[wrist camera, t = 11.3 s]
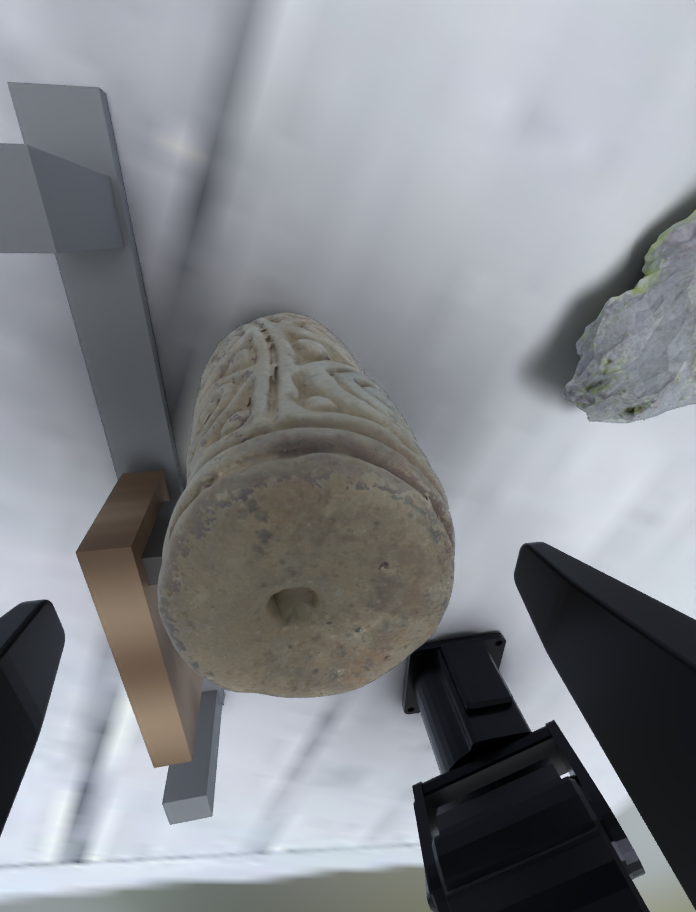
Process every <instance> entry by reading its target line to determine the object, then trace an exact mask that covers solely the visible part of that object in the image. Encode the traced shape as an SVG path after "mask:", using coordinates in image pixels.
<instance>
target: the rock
mask: <svg viewBox="0 0 696 912" xmlns="http://www.w3.org/2000/svg"><path fill="white" fill-rule="evenodd" d="M644 259H645V265H644V267H643V269H642V272H643V273H644V274H645V276H644V277H643V279H640V280H639V282H638V283H637V285H636V286H635V287H634V289H633V290H628V291H626V292H625V293H623V294H622V295H620V296H616V297H611V298H610V299H609V300H608V301H607V302H606V303H605V305H604V307H603V308H602V310H601V312H600V314H599V315H598V317H597V319H596V320H595V321H593V322H592V323H591V324H589V325H588V326H586V327H585V331H584V334H583V335H582V336H581V337H580V339H579V340H578V341H577V342H576V349H577V354H578V355H579V357H580V358H581V360H580V361H579V362H578V365H577V368H576V371H575V374H574V376H573V378H572V380H571V381H570V382H569V383H567V384H566V386H565V389H564V393H563V395H564V396H565V397H566V398H567V399H568V400H569V401H572V402H576V405H577V407H578V408H580V409H581V410H583V411H584V412H586V413H587V416H588V420H589V421H598V422H610V423H630V422H634V421H638V420H645V419H648V418H651V417H654V416H657V415H660V414H662V413H664V412H666V411H668V410H672V409H676V408H679V407H683V406H686V405H691V404H696V209H695V211H694V212H693V213H692V214H691V215H690V216H689V217H688V218H686V219H684V220H682V221H679V222H677V223H675V224H673V225H672V226H671V227H669V228H668V229H667V230H665V231H664V232H663V233H662V234H660V235H659V237H658V239H657V241H656V242H655V243H654V244H652V245H651V247H650V249H649V251H648V252H647V254H646V255H645V257H644Z"/></svg>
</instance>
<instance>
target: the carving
mask: <svg viewBox="0 0 696 912" xmlns="http://www.w3.org/2000/svg"><path fill="white" fill-rule="evenodd" d="M186 466H187V485H186V488H185V490H184V491H183V493H182V494H181V496H180V498H179V500H178V502H177V504H176V506H175V508H174V510H173V513H172V516H171V519H170V522H169V526H168V529H167V533H166V536H165V540H164V545H163V553H162V565H161V569H160V573H159V579H158V587H157V596H158V608H159V614H160V617H161V620H162V623H163V625H164V627H165V629H166V631H167V633H168V635H169V637H170V639H171V641H172V644H173V645H174V647H175V649H176V650H177V652H178V653H179V655H180V656H181V657H182V659H183V660H184V661H185V662H186V664H187V665H188V666H189V667H190V668H191V669H193V670H194V671H195V672H196V673H198V674H199V675H200V676H202V677H203V678H205V679H206V680H208V681H209V682H211V683H213V684H214V685H216V686H218V687H221V688H223V689H226V690H229V691H234V692H246V693H259V694H265V695H271V696H275V697H285V698H309V697H322V696H329V695H336V694H340V693H345V692H348V691H352V690H355V689H357V688H360V687H362V686H364V685H366V684H368V683H370V682H372V681H374V680H376V679H377V678H379V677H380V676H382V675H383V674H385V673H387V672H388V671H390V670H391V669H393V668H394V667H395V666H397V665H398V664H400V663H401V662H402V661H403V660H404V659H406V658H407V657H408V656H409V655H410V654H411V653H413V652H414V651H415V650H416V649H418V648H419V647H420V646H421V645H423V644H424V643H425V642H426V641H427V640H428V639H429V638H430V637H431V636H432V634H433V633H434V632H435V630H436V628H437V626H438V625H439V623H440V621H441V619H442V617H443V615H444V612H445V610H446V608H447V606H448V603H449V600H450V597H451V592H452V587H453V580H454V555H455V536H454V527H453V522H452V519H451V515H450V512H449V507H448V501H447V498H446V495H445V492H444V490H443V487H442V485H441V483H440V481H439V479H438V477H437V476H436V474H435V472H434V471H433V469H432V468H431V466H430V464H429V462H428V460H427V458H426V456H425V455H424V453H423V452H422V450H421V449H420V448H419V446H418V445H417V443H416V439H415V437H414V436H413V433H412V431H411V429H410V428H409V426H408V425H407V423H406V422H405V420H404V418H403V417H402V415H401V414H400V412H399V411H398V409H397V408H396V406H395V405H394V404H393V402H392V401H391V400H390V399H389V397H388V396H387V395H386V394H385V393H384V391H383V390H382V389H381V388H380V387H379V386H378V385H377V384H375V383H374V382H373V381H372V380H371V379H370V378H369V377H368V376H367V375H366V374H364V373H363V372H362V370H361V368H360V367H359V365H358V364H357V362H356V361H355V360H354V358H353V356H352V355H351V353H350V352H349V351H348V349H347V348H346V347H345V346H344V344H343V343H342V342H341V341H340V340H339V339H338V338H337V337H336V336H334V335H333V334H332V333H331V332H330V331H329V330H328V329H327V328H325V327H324V326H323V325H322V324H320V323H318V322H316V321H314V320H313V319H311V318H309V317H307V316H302V315H298V314H294V313H287V312H283V313H277V314H274V315H268V316H265V317H261V318H257V319H255V320H253V321H252V322H251V323H248V324H243V325H241V326H239V327H238V328H236V329H235V330H233V331H232V332H231V333H229V334H228V335H227V336H226V337H225V338H224V339H223V340H222V341H221V342H220V343H219V344H218V345H217V347H216V349H215V350H214V352H213V354H212V356H211V358H210V359H209V361H208V363H207V366H206V368H205V370H204V372H203V375H202V378H201V386H200V390H199V393H198V395H197V399H196V404H195V408H194V414H193V425H192V431H191V439H190V445H189V448H188V452H187V457H186Z"/></svg>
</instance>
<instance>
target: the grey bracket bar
mask: <svg viewBox="0 0 696 912" xmlns="http://www.w3.org/2000/svg"><path fill="white" fill-rule="evenodd" d="M7 83H8V86H9V90H10V93H11V97H12V101H13V104H14V108H15V111H16V115H17V119H18V122H19V126H20V129H21V133H22V137H23V140H24V144H2V143H0V253H55V255H56V259H57V262H58V266H59V270H60V273H61V277H62V280H63V284H64V288H65V291H66V295H67V298H68V302H69V306H70V309H71V313H72V316H73V320H74V324H75V327H76V331H77V334H78V338H79V342H80V345H81V349H82V352H83V356H84V360H85V363H86V367H87V370H88V374H89V378H90V381H91V385H92V388H93V392H94V396H95V399H96V403H97V406H98V410H99V414H100V417H101V421H102V424H103V428H104V432H105V435H106V439H107V442H108V446H109V450H110V453H111V457H112V460H113V464H114V468H115V471H116V475H117V478H118V480H119V478H120V477H121V475H122V473H134V472H148V471H161V470H164V475H165V479H166V484H167V489H168V493H169V498H170V501H175V500H179V498H180V496H181V494H182V493H183V491H184V488H183V483H182V477H181V472H180V467H179V462H178V457H177V452H176V447H175V442H174V437H173V432H172V427H171V422H170V417H169V412H168V407H167V402H166V397H165V392H164V387H163V382H162V377H161V372H160V367H159V361H158V356H157V351H156V346H155V341H154V336H153V331H152V326H151V321H150V316H149V311H148V306H147V301H146V296H145V291H144V286H143V281H142V276H141V271H140V266H139V261H138V256H137V251H136V245H135V240H134V235H133V230H132V225H131V220H130V215H129V210H128V205H127V200H126V195H125V190H124V185H123V180H122V175H121V170H120V165H119V160H118V155H117V150H116V145H115V140H114V134H113V129H112V124H111V119H110V114H109V109H108V104H107V99H106V94H105V93H104V92H103V91H102V90H101V89H100V88H99V87H82V86H66V85H49V84H32V83H15V82H7ZM224 698H225V694H224V689H223V688H221V687H218V686H216V685H214V684H213V683H211V682H209V681H208V680H206V679H205V678H203V684H202V692H201V699H200V707H199V714H198V721H197V729H196V736H195V744H194V751H193V758H192V761H190V762H185V763H179V764H173V765H169V768H168V774H167V780H166V785H165V791H164V796H163V802H162V805H163V807H164V810H165V813H166V815H167V818H168V821H169V823H170V825H172V824H177V823H182V822H187V821H192V820H197V819H202V818H207V817H212V814H213V803H214V791H215V780H216V769H217V757H218V746H219V734H220V723H221V711H222V705H224Z"/></svg>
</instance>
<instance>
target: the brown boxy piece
mask: <svg viewBox="0 0 696 912" xmlns="http://www.w3.org/2000/svg"><path fill="white" fill-rule="evenodd" d="M177 502H178V500H175V501H170V498H169V493H168V489H167V484H166V479H165V475H164V470H161V471H148V472H134V473H122V475H121V477H120V478H119V480H118V482H117V484H116V485H115V487H114V489H113V490H112V492H111V494H110V495H109V497H108V499H107V500H106V502H105V504H104V505H103V507H102V509H101V510H100V512H99V514H98V516H97V517H96V519H95V521H94V522H93V524H92V526H91V527H90V529H89V531H88V532H87V534H86V536H85V537H84V539H83V541H82V543H81V544H80V546H79V548H78V549H77V551H76V555H77V558H78V560H79V563H80V566H81V569H82V571H83V574H84V577H85V580H86V582H87V585H88V588H89V591H90V593H91V596H92V599H93V602H94V604H95V607H96V610H97V613H98V615H99V618H100V621H101V624H102V626H103V629H104V632H105V635H106V637H107V640H108V643H109V646H110V648H111V651H112V654H113V657H114V659H115V662H116V665H117V668H118V670H119V673H120V676H121V679H122V681H123V684H124V687H125V690H126V692H127V695H128V698H129V701H130V703H131V706H132V709H133V712H134V714H135V717H136V720H137V723H138V725H139V728H140V731H141V734H142V736H143V739H144V742H145V745H146V747H147V750H148V753H149V756H150V758H151V761H152V764H153V767H154V768H157V767H162V766H168V765H173V764H179V763H185V762H190V761H192V758H193V751H194V744H195V736H196V729H197V721H198V714H199V707H200V699H201V692H202V684H203V677H202V676H200V675H199V674H198V673H196V672H195V671H194V670H193V669H191V668H190V667H189V666H188V665H187V664H186V662H185V661H184V660H183V659H182V657H181V656H180V655H179V653H178V652H177V650H176V649H175V647H174V645H173V644H172V641H171V639H170V637H169V635H168V633H167V631H166V629H165V627H164V625H163V623H162V620H161V617H160V614H159V608H158V596H157V587H158V579H159V573H160V569H161V565H162V553H163V545H164V540H165V536H166V533H167V529H168V526H169V522H170V519H171V516H172V513H173V510H174V508H175V506H176V504H177Z"/></svg>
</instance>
